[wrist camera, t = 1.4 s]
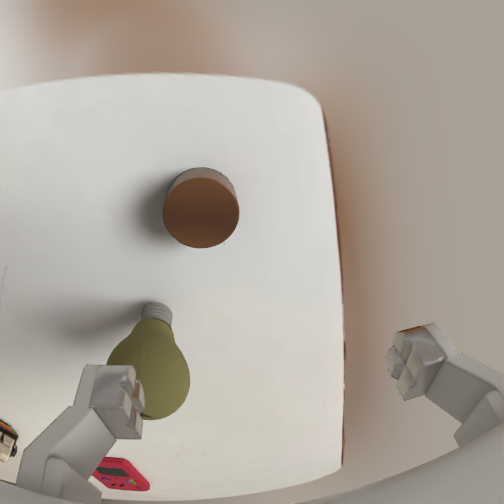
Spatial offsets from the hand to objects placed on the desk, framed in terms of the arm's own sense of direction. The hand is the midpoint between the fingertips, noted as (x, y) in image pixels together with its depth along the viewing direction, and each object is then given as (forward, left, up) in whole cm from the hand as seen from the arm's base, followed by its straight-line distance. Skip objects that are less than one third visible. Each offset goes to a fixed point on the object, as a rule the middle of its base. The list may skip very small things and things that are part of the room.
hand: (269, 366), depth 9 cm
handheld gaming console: (+50, -13, -14) cm, 54 cm away
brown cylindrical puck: (0, -2, -14) cm, 14 cm away
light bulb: (+10, -5, -14) cm, 18 cm away
